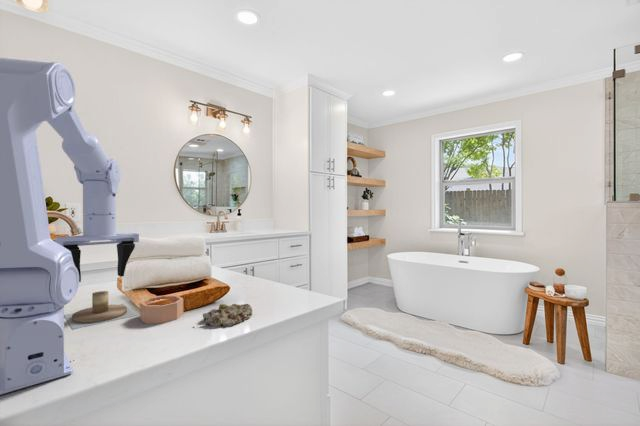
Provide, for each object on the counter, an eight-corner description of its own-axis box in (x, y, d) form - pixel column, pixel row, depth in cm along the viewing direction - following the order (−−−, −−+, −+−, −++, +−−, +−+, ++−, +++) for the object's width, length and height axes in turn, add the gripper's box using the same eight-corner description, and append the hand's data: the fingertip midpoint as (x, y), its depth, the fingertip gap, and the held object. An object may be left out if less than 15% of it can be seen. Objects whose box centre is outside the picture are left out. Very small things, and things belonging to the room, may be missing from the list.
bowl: (187, 319, 67) (187, 300, 67) (149, 329, 62) (148, 308, 62) (173, 310, 73) (173, 293, 72) (136, 319, 67) (136, 300, 67)
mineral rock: (214, 321, 60) (199, 300, 66) (210, 341, 61) (196, 319, 67) (263, 311, 67) (245, 293, 73) (259, 329, 68) (242, 310, 74)
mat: (137, 317, 68) (137, 315, 68) (72, 331, 60) (72, 329, 60) (122, 306, 75) (122, 303, 75) (63, 317, 68) (63, 315, 68)
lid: (132, 315, 68) (132, 292, 68) (76, 327, 61) (76, 302, 61) (120, 305, 74) (119, 285, 74) (68, 315, 68) (68, 292, 67)
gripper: (132, 213, 75) (132, 270, 75) (52, 214, 65) (53, 280, 65) (141, 214, 70) (142, 275, 71) (57, 215, 60) (58, 287, 60)
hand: (100, 278), depth 67 cm, fingers open, 7 cm apart
